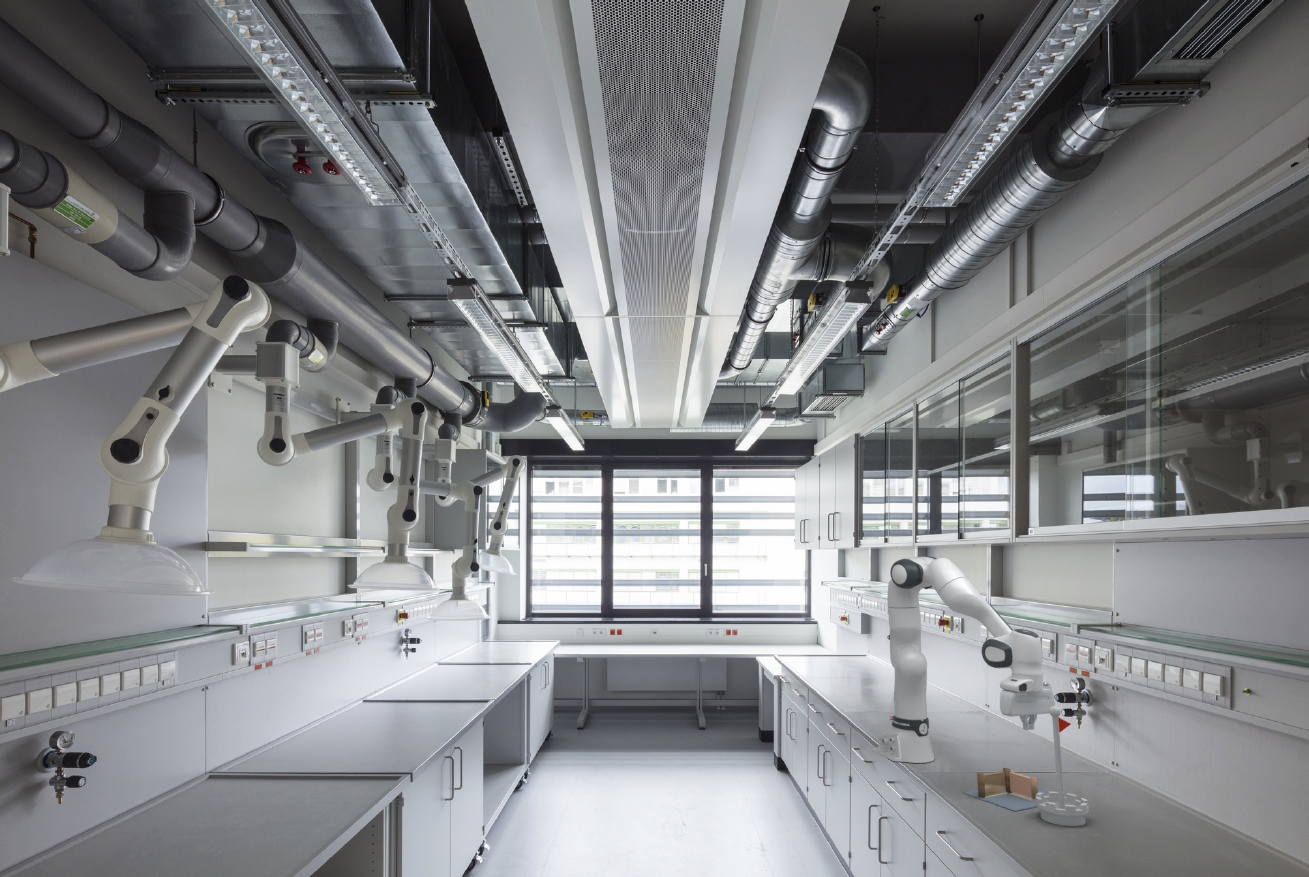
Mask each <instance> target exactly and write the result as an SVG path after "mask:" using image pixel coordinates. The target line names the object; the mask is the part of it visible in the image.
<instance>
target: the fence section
mask: <svg viewBox="0 0 1309 877" xmlns="http://www.w3.org/2000/svg"><path fill="white" fill-rule="evenodd" d="M1009 775H1010V790H1011V792H1014V793H1017V794H1020V795H1023V796H1026V797H1029V798H1032V799H1035V800H1036V798H1035V797H1036V794H1037V793H1038V789H1039V788H1038V778H1037V777H1036V776H1027V775H1024V774H1021V773H1017V772H1013V771H1011V772H1009Z"/></svg>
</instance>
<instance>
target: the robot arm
mask: <svg viewBox="0 0 1309 877" xmlns="http://www.w3.org/2000/svg"><path fill="white" fill-rule="evenodd" d="M889 574H890V577H891V579H890V580H889V581H888V587H887V612H888V626H889V656H890V663H891V665H892V667H893V669H894V685H893V687H894V689H893V690H894V692H893V702H894V703H893V704H894V716H889V721H891V725H890V726H889V727H888V728H887V729H886V730H884V731H882V733H880V735H879V739H878V746H875V747H872V753H875V754H877V755H880V756H881V757H883V758H885V759H887V760H890V761H892V762H897V763H898V762H901V763H903V762H904V763H912V764H913V763H915V764H916V763H917V764H922V763H924V764H926V763H932V762H933V761H934V760H935V753H934V751H933V748H932V741H931V736H930V735H931V734H930V732H929V729H930V721H929V717H928V706H927V705H928V704H927V687H928V685H927V684H928V683H927V682H928V663H927V658H926V657H925V655H924V653H922V640H921V639H922V622H921V610H920V601H919V594H920V591H921V590H922V589H924V590H927V589H931V588H933V589H934V590H935V592H936V593H937V595H938V596H939V597H940V599H941V601H942V602H943V603H944V604H945V606H946V607H948V608H949V609H950V610H951V611H952V612H954V613H958V614H961V615H965V616H968V617H969V618H970V617H971V618H973V619H975V620H977V621H978V622H980V623H981V624H982V625H983V626H984V627H985V628H986V630H987V631H988V632H989V633H990V634H991V635H992V637H991V638H988V639H987V640H985V641H984V642H983V644H982V646H981V656H982V658H983V661H984V662H985V664H986V665H987V666H989V667H991V668H994V669H1000V670H1001V669H1011V675H1010V676H1009V677H1007V678H1005V679H1003V680H1001V681H1000V682H999V688H1000V689H1002V690H1000V695H999V710H1000V713H1001V714H1002V715H1003V716H1006V717H1010V718H1011V717H1012V718H1013V717H1019V719H1020V722H1021V723H1022V729H1023V730H1025V731H1030V730H1031V731H1033V730H1035V723H1036V721H1037V719H1038V715H1045V714H1047V715H1048V714H1050V713H1049V709H1050V708H1051V707H1052V706H1056V703H1055V702H1056V701H1055V697H1054V692H1053V689H1052V685H1051V684H1050V683H1049V682H1047V681H1044V673H1043V670H1042V664H1043V649H1042V646H1043V645H1042V642H1041V641H1042V640H1041V638H1040V636H1039V635H1038V634H1037V633H1036V632H1034V631H1032V630H1028V629H1023V628H1016V629H1013V628H1012V627H1011V626H1010V624H1009V623H1008V622H1007V621H1006V620H1005V619H1004V618H1003V617H1002V616H1001V614H1000V613H999V612H998V611H997V610H996V608H994V606H992V604H990V602H988V601H987V599H985V597H983V596H982V595H981V594H980V592H979V591H977V589H976V588H975V587H974V585H973V584H972V583H971V582H970V581H969V579H968V578H967V577H966V576H965V574H964V573H963V572H962V570H961V569H960V568H959V567H958V566H957V565H956V564H954V562H953V561H951V559H950V558H947V557H934V556H914V557H909V558H901V559H899V560H896V561H895V562H893V564H892V565H891V567H890V573H889Z"/></svg>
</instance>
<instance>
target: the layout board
mask: <svg viewBox="0 0 1309 877" xmlns="http://www.w3.org/2000/svg"><path fill="white" fill-rule="evenodd" d="M1040 792H1041V793H1044V796H1048V792H1049V791H1047V790H1044V789H1040V788H1038V793H1040ZM962 794H964V795H967V796H969V797H972V798H975V799H977V800H981V801H983V802H985V803H986V802H987V803H989V804H992V805H995V806H998V807H1001V808H1003V809H1005V810H1009V811H1011V812H1014V813H1016V812H1020V811H1025V810H1030V809H1033V808H1034V809H1035V808H1038V807H1037V806H1036V800H1035V799H1032V798H1029V797H1026V796H1023V795H1020V794H1017V793H1014V792H1011V793H1008V792H1006V793H1002V794H997V795H992V796H987V797H985V798H981V797H978V788H977V789H973V790H967V791H962Z"/></svg>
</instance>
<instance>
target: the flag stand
mask: <svg viewBox="0 0 1309 877" xmlns="http://www.w3.org/2000/svg"><path fill="white" fill-rule="evenodd" d="M1048 714H1049V715H1050V716H1051V717H1052V718H1051V720H1052V731H1053V732H1052V733H1053V743H1054V745H1053V746H1054V757H1055V758H1054V760H1055V774H1056V786H1057V791H1048V796H1044V793H1041V792H1040V793H1037V794H1036V797H1035V798H1036V806H1037V807H1036V808H1038V809H1039V811H1040V818H1041V819H1042V820H1044V821H1045V822H1048V823H1049V824H1054V825H1057V826H1063V827H1079V826H1084V825H1085V824H1086V815H1088V813H1089V812H1090V809H1089V808H1090V807H1089V802H1088V799H1086V798H1084V797H1080V799H1078V796H1077V795H1076V794H1072V793H1068V792H1067V793H1066V796H1065V792H1064V777H1063V776H1064V774H1063V763H1062V762H1063V760H1062V750H1061V749H1062V747H1061V738H1060V733H1061V732H1063V730H1065V729H1067V728H1068V727H1069V726H1071V725H1072V724H1071V723H1070V722H1068V721H1067V720H1064V719H1062V718H1061V717H1060V716H1061V709H1060V708H1059V707H1058V706H1056V705H1055V706H1052V707H1051V708H1050V709H1049V713H1048Z"/></svg>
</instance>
